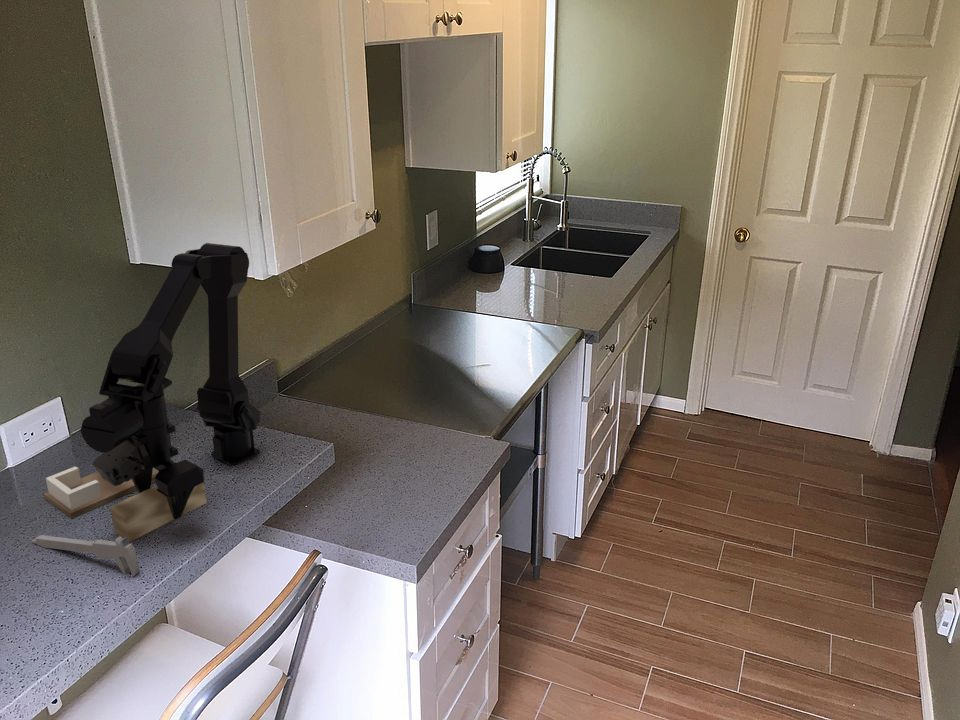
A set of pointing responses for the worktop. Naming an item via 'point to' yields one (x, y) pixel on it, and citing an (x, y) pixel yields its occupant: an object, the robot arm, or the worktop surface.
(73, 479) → the end caps
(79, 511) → the walnut board
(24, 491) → the worktop surface
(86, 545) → the caliper
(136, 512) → the maple slat
